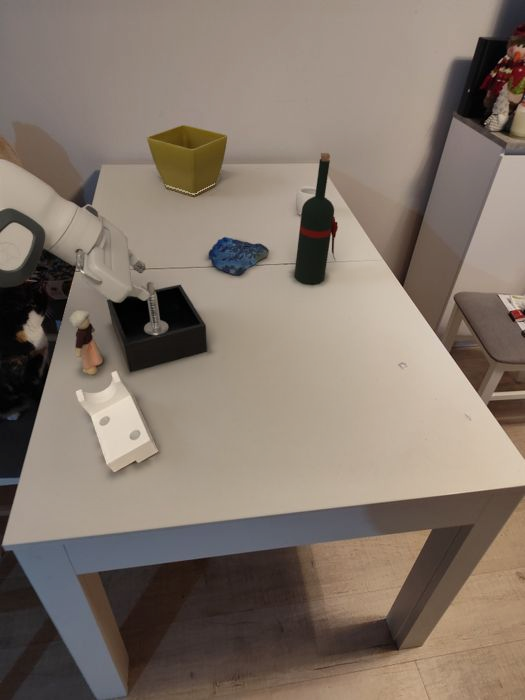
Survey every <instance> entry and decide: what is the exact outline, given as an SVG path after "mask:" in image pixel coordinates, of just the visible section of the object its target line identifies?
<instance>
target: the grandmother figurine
mask: <svg viewBox="0 0 525 700" xmlns="http://www.w3.org/2000/svg"><path fill="white" fill-rule="evenodd" d="M89 317H90V314H89V312H88V311H87V310H81V309H80V310H79V309H78V310H75V311H74V312H72V313H71V315H70V317H69V321H70V323H71V324H72V326H73V327H75V328H76V329H77V330H76V331H75V345H74V347H75V357H76V358H81V361H82V366H83V369H82V371H83V373H85V374H87V375H92V376H93V375H95V374H96V373H98V371H99V369H98V367H97V366H100V365H102V363H103V362H104V359H103V356H102V354H101V350H100V349H99V347H98V345H97V343H96V341H95V339H94V336H93V333H95V331H96V329H95V328H94V325H92V323H91V321H90V319H89Z"/></svg>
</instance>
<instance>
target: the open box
mask: <svg viewBox="0 0 525 700" xmlns="http://www.w3.org/2000/svg"><path fill="white" fill-rule="evenodd" d="M154 290H155V292H156V295H157V303H158V310H159V317H160V320H161V321H164V322H166V323H167V324H168V331H167V332H166V333H162V334H158V335H154V336H150V335H148V334H146V333H145V331H144V327H145V325H146V324H147V323H149V322H150V320H151V319H150V314H149V306H148V305H149V304H148V301H147V300H148V299H147V300H145V301H143V300H141V299H139V298H138V297H134V296H127V297H126V298H125V299H124V300H123V301H122V302H121V303H117V302H113V301H111V300H110V299H106V303H107V307H108V312H109V316H110V320H111V321H110V322H111V325H112V328H113V331H114V334H115V337H116V340H117V342H118V345H119V348H120V351H121V353H122V355H123V358H124V361H125V364H126V366H127V369H128V372H129V373H134V372H138V371H141V370H145V369H149V368H152V367H156V366H161V365H163V364H166V363H171V362H174V361H179V360H182V359H185V358H186V359H187V358H189V357H193V356H196V355H200V354H203V353H207V352H208V341H207V325H206V323H205V322H204V320H203V319H202V317H201V316H200V313H199V312H198V311H197V309H196V306H194V304H193V302H192V301H191V299H190V297H189V296H188V294H187V293H186V291H185V289H184V288H183V286H182V284H175V285H172V286H167V287H161V288H157V289H154Z"/></svg>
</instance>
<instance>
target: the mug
mask: <svg viewBox="0 0 525 700" xmlns="http://www.w3.org/2000/svg"><path fill="white" fill-rule="evenodd" d="M315 194H316V186H312V185H304V186H301V187H299V188H298V189H297V191H296V195H295V207H296V211H298V212H299V213H302V207H303V205H304V203H305V202H306V201H307V200H308V199H310V198H312V197H314V196H315ZM298 212H297V213H298ZM299 213H298V215H299V216H300V217H301V214H299Z"/></svg>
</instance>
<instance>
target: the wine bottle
mask: <svg viewBox="0 0 525 700" xmlns="http://www.w3.org/2000/svg"><path fill="white" fill-rule="evenodd" d="M330 158H331V155H330V153H329V152H320V158H319V164H318V171H317V178H316V180H317V181H316V186H315V187H316V194H315V196H314V197H312V198H310V199H308V200H307V201H306V202H305V203H304V205H303V207H302V213H301V216H300V222H299V223H300V224H299V232H298V239H297V249H296V257H295V265H294V273H293V274H294V275H293V277H294V279H295V280H296V281H297V282H298V283H301V284H302V285H308V286H314V285H320V284H322V283H323V282H324V281H325V278H326V277H325V276H326V269H327V263H328V256H329V251H330V243H331V253H332V256H333V257H332V258H333V259H334V260H336V258H335V255H334V253H335V239H336V236H337V232H338V228H339V226H338V221H336V218H335V207H334V204H333V202H332V201H330V200H329V199H328V198H327V197H326V192H327V191H326V190H327V185H328V176H329V170H330V163H331V162H330Z"/></svg>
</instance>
